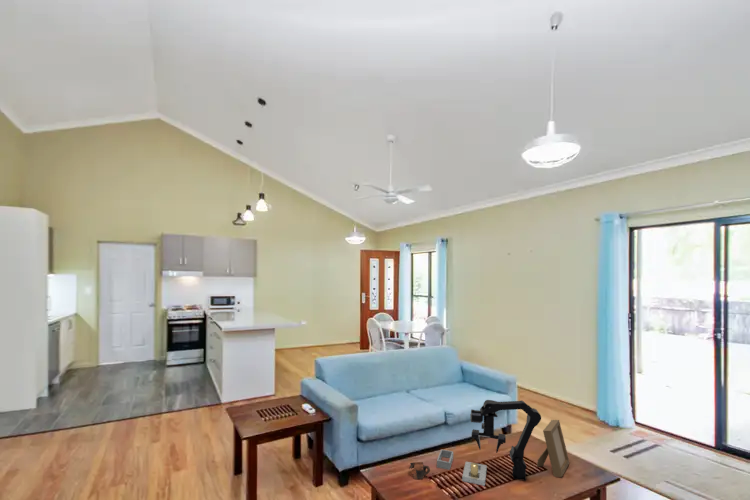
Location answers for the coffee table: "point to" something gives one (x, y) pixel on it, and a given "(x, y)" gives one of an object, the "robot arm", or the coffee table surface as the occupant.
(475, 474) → the pale yellow rod
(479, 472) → the plate
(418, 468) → the pottery mug
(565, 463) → the photo frame
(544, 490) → the coffee table surface
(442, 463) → the gray hollow rectangular block
